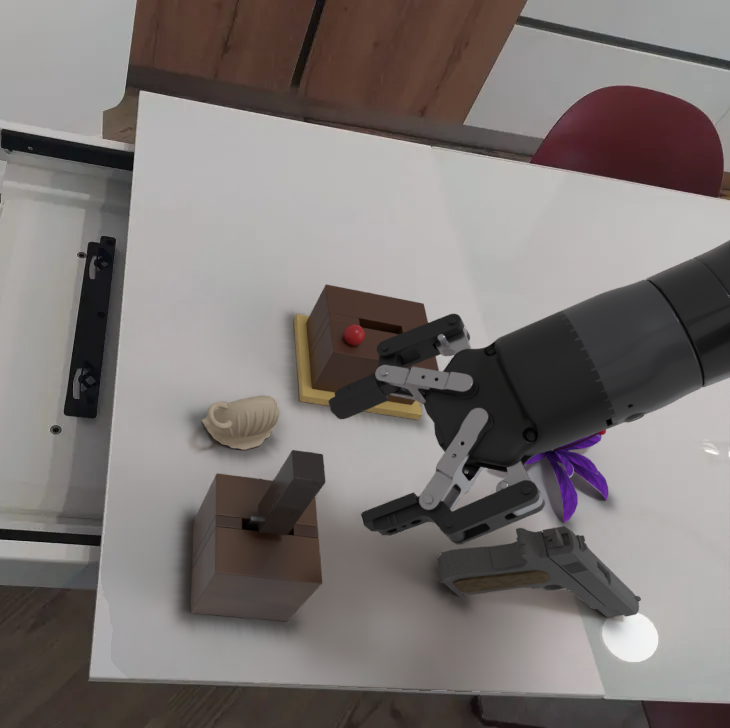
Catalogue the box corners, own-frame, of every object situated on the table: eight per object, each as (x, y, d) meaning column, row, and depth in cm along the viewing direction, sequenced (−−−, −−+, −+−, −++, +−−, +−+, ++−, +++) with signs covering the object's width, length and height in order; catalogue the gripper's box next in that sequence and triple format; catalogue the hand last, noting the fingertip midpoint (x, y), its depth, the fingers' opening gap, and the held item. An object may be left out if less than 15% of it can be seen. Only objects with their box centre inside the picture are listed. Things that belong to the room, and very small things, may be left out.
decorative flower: (522, 362, 82) (573, 333, 76) (618, 464, 82) (677, 443, 75) (466, 437, 74) (518, 411, 68) (572, 551, 74) (634, 535, 68)
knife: (257, 558, 62) (330, 454, 49) (258, 583, 61) (333, 483, 48) (220, 554, 61) (284, 448, 48) (220, 580, 60) (286, 477, 47)
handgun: (427, 549, 64) (564, 508, 58) (517, 613, 74) (642, 584, 68) (431, 580, 62) (573, 542, 56) (523, 641, 72) (651, 614, 66)
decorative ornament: (281, 443, 70) (299, 411, 66) (199, 457, 66) (213, 425, 62) (266, 408, 72) (283, 375, 68) (185, 420, 68) (199, 386, 64)
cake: (402, 339, 83) (439, 286, 77) (418, 420, 77) (459, 369, 70) (293, 319, 81) (321, 262, 74) (299, 401, 74) (331, 346, 67)
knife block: (283, 530, 64) (314, 485, 58) (287, 621, 59) (323, 583, 53) (193, 519, 62) (216, 472, 56) (190, 613, 57) (215, 572, 51)
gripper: (534, 246, 46) (301, 354, 50) (647, 444, 37) (356, 551, 42) (553, 307, 51) (342, 399, 56) (655, 491, 43) (398, 580, 48)
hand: (349, 464), depth 49 cm, fingers open, 8 cm apart
